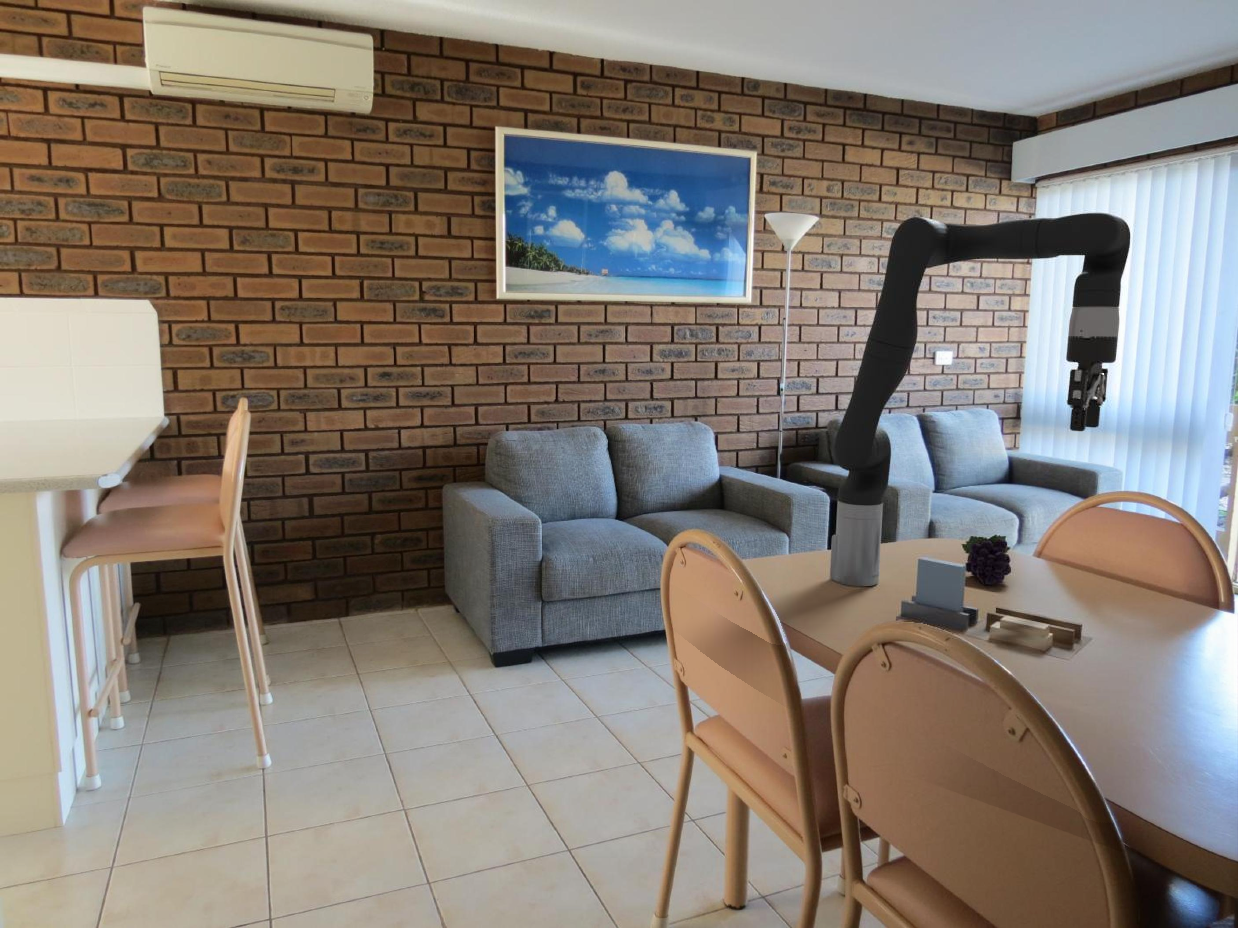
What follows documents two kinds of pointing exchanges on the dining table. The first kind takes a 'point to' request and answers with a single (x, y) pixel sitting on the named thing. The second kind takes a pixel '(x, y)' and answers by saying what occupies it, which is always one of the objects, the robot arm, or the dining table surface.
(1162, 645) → the dining table surface
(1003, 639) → the offcut stack
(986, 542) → the fruit
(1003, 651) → the dining table surface
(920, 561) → the tall sheet
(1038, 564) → the dining table surface
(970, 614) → the stand
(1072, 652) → the offcut rack
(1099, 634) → the dining table surface
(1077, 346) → the robot arm
